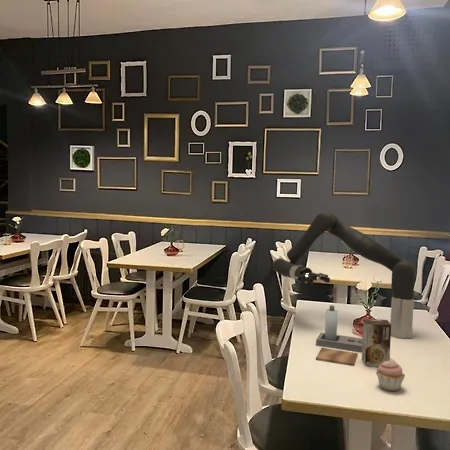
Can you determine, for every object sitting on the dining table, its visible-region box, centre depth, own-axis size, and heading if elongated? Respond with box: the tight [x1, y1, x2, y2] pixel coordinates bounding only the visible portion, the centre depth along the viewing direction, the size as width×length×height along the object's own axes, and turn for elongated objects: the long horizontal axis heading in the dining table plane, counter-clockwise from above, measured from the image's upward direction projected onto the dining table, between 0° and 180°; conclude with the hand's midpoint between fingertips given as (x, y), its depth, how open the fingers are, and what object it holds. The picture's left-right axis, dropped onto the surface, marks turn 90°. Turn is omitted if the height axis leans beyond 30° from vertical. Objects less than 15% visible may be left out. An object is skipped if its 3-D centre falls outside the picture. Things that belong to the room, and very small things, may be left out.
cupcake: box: [375, 357, 406, 392], centre depth 157 cm, size 9×9×10 cm
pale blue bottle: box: [324, 304, 339, 341], centre depth 198 cm, size 5×5×16 cm
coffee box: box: [361, 318, 392, 367], centre depth 177 cm, size 9×6×16 cm
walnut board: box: [315, 347, 359, 367], centre depth 183 cm, size 14×12×1 cm
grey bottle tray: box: [315, 332, 363, 353], centre depth 197 cm, size 21×10×3 cm, turn 68°
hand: (321, 280), depth 208 cm, fingers open, 8 cm apart
